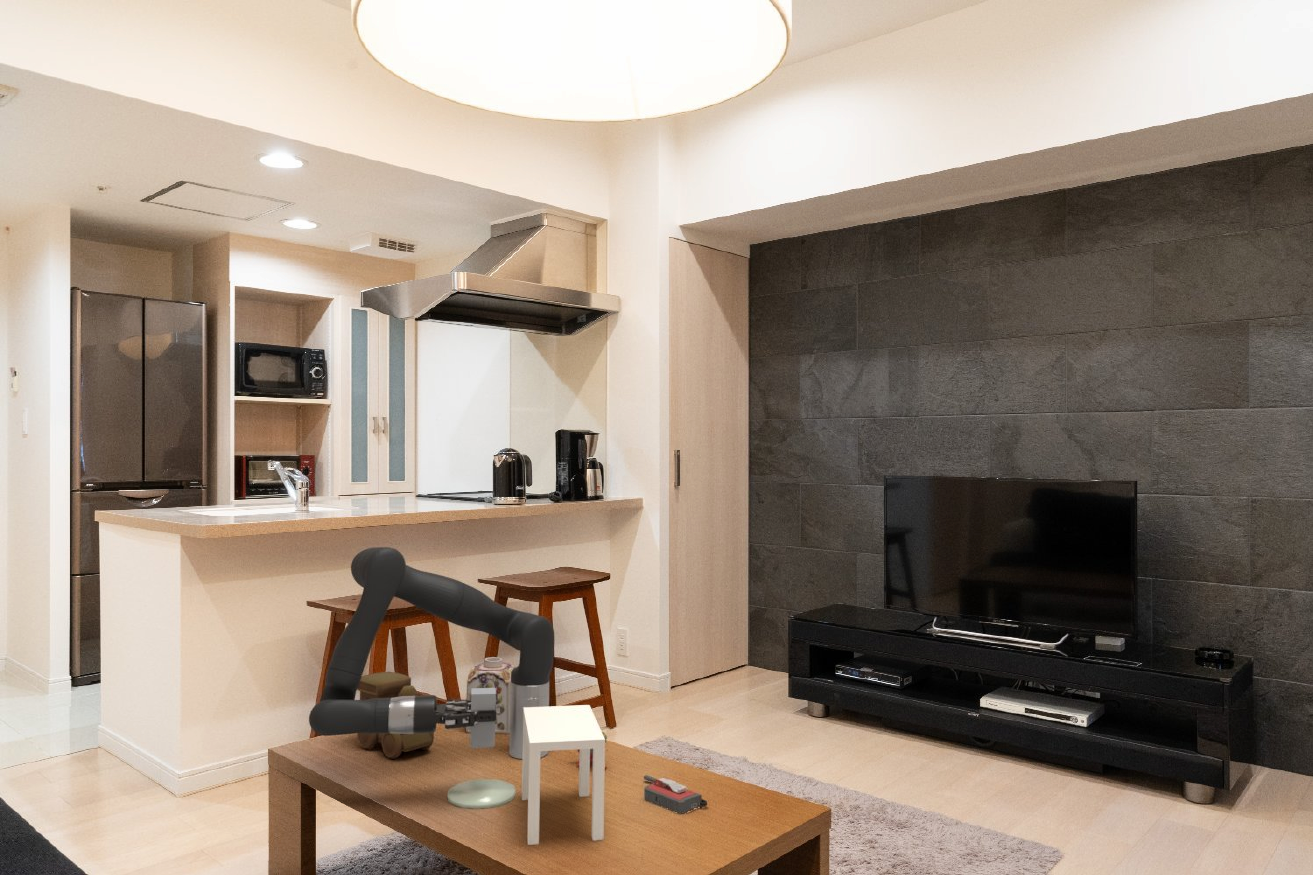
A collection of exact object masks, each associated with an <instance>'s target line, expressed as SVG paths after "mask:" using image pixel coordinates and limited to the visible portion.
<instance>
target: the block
mask: <svg viewBox="0 0 1313 875" xmlns="http://www.w3.org/2000/svg"><path fill="white" fill-rule="evenodd" d="M495 708H496V688H472V691H471V710H477V711H479V710H495ZM469 736H470V738H469V748H470V749H479V748H495V741H496V740H495V739H496V738H495V736H496V734H495V721H494V722H478V723H476V724H474V726H472V727H471V728H470V733H469Z"/></svg>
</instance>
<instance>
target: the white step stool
mask: <svg viewBox="0 0 1313 875" xmlns="http://www.w3.org/2000/svg"><path fill="white" fill-rule="evenodd" d="M601 731H602V729H601V728H600V724H599V722H598V721H597V718H596V715H595V714H594V711H593V710H592V707H591V705H590V704H581V705H580V704H579V705H577V704H576V705H555V706H554V705H553V706H552V705H551V706H550V705H549V706H548V707H523V754H522V759H521V761H522V764H521V765H522V766H521V768H522V769H521V770H522V771H521V800H522V801H527V831H526V832H527V833H526V834H527V838H526V840H527V845H528V846H530V845H531V846H533V845H539V844H540V805H541V803H540V800H541V798H540V797H541V757H540V752H541V751H548V752H551V751H572V750H574V751H575V750H577V749H579V752H578V754H579V755H578V757H579V758H578V762H579V767H578V771H579V772H578V795H579V796H578V797H580V798H582V797H590V781H591V780H590V770H591V767H590V765H591V762H590V749H593V762H592V781H591V782H592V783H591V786H592V788H591V791H592V792H591V839H592V841H604V832H605V831H604V830H605V827H604V825H605V772H606V769H605V767H606V763H605V762H606V743H605V738H604V736H603V734H602V732H603V731H602V732H601ZM577 751H578V750H577Z"/></svg>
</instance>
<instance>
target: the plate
mask: <svg viewBox="0 0 1313 875" xmlns="http://www.w3.org/2000/svg"><path fill="white" fill-rule="evenodd" d="M515 797H516V787H515V785H513V784H511V783H510V782H508V781H505V780H501V779H492V778H491V779H489V778H482V779H472V780H467V781H463V782H459V783H458V784H455V785H453V786H452V787H450V788H449V790H448V791H447V801H448V803H450V802H451V803H452V804H451V803H450V804H451V805H453V806H456V807H458V808H463V809H469V808H473V809H474V810H481V809H482V808H484V809H491V808H496V807H500V806H503V805H507V803H510V802H511V801H513V800H514V799H515ZM473 809H472V810H473Z"/></svg>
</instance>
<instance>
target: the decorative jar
mask: <svg viewBox="0 0 1313 875" xmlns="http://www.w3.org/2000/svg"><path fill="white" fill-rule="evenodd" d="M483 660H484V662H482V663H478V664H474V665H473V666H471V668H470V670H469V674H468V676H467V680H466V696H465V697H466V698H465V700H471V691H472V688H496V721H495V733H500V734H501V733H502V734H503V735H508V734H509V735H510V698H511V671H512V670H513V669H514V668H516V667H517V666H515V665H514V664H511V663H509V662H503V658H501V657H498V656H496V657H495V656H492V657H485V658H484V659H483ZM468 709H469V707H468ZM467 718H468V719H469V717H467ZM470 728H471V726H470V727H465V732H466V733H467V734H470ZM500 734H499V735H500ZM502 734H501V735H502Z"/></svg>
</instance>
